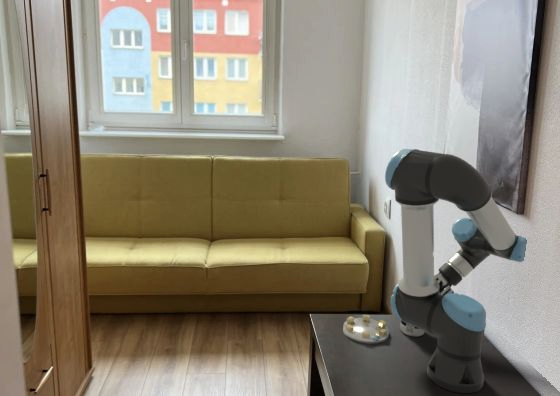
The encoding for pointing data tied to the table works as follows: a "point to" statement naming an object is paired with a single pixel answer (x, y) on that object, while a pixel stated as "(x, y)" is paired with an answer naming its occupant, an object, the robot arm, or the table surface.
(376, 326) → the ring plate
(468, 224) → the robot arm
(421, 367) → the table surface
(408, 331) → the supplement can
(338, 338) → the table surface
